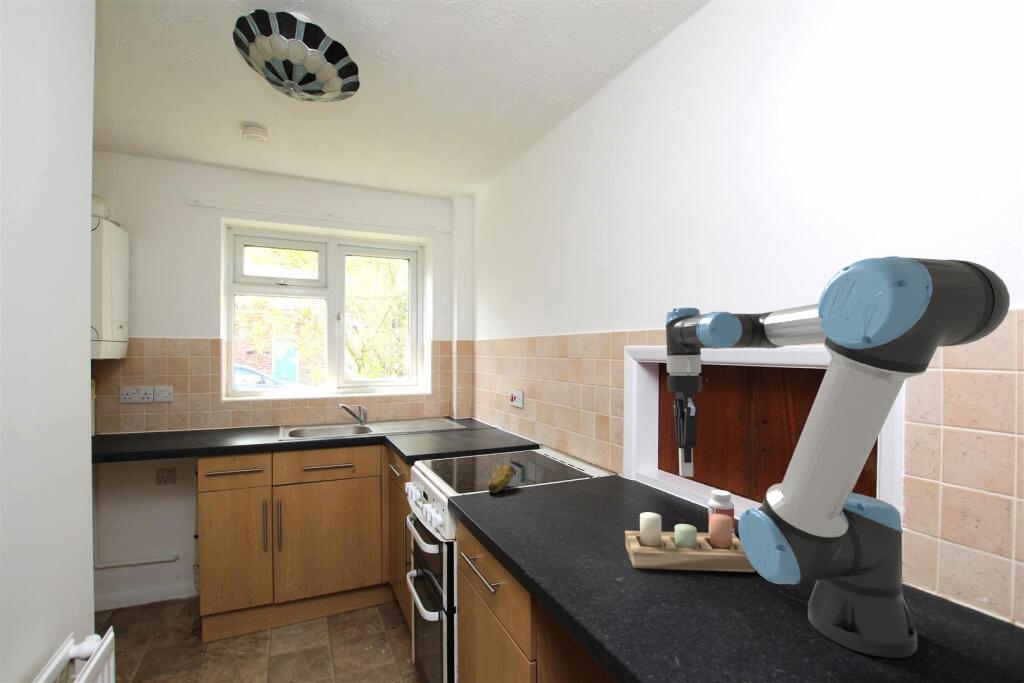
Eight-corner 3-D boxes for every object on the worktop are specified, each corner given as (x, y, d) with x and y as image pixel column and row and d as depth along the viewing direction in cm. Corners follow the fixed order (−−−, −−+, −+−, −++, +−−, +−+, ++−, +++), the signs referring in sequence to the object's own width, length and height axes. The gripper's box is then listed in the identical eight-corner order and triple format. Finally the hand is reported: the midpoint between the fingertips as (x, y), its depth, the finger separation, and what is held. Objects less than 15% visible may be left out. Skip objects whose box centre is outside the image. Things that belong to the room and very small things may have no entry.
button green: (699, 558, 106) (699, 532, 106) (678, 558, 106) (677, 531, 106) (693, 549, 110) (693, 524, 110) (672, 548, 111) (672, 523, 111)
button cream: (663, 546, 106) (663, 520, 106) (642, 545, 107) (642, 519, 107) (658, 537, 111) (658, 512, 111) (638, 537, 111) (638, 512, 111)
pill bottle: (739, 536, 120) (738, 493, 120) (725, 541, 117) (725, 497, 117) (717, 528, 125) (716, 487, 125) (703, 533, 122) (703, 491, 122)
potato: (478, 491, 158) (478, 468, 159) (505, 483, 167) (505, 461, 168) (494, 497, 153) (494, 472, 153) (521, 488, 161) (521, 465, 162)
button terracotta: (735, 548, 105) (735, 521, 105) (714, 547, 105) (713, 521, 105) (727, 539, 110) (727, 514, 110) (707, 538, 110) (706, 513, 110)
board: (755, 571, 101) (754, 555, 101) (633, 568, 103) (633, 552, 103) (733, 548, 113) (733, 533, 113) (625, 544, 115) (625, 530, 115)
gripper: (710, 375, 102) (712, 483, 101) (692, 373, 115) (694, 468, 114) (675, 375, 102) (677, 483, 102) (661, 373, 115) (663, 468, 115)
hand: (686, 475), depth 108 cm, fingers closed
